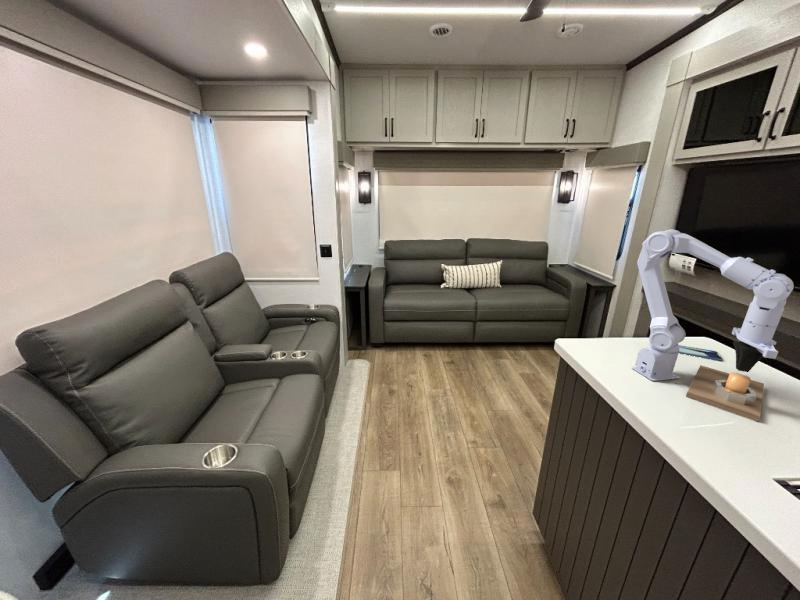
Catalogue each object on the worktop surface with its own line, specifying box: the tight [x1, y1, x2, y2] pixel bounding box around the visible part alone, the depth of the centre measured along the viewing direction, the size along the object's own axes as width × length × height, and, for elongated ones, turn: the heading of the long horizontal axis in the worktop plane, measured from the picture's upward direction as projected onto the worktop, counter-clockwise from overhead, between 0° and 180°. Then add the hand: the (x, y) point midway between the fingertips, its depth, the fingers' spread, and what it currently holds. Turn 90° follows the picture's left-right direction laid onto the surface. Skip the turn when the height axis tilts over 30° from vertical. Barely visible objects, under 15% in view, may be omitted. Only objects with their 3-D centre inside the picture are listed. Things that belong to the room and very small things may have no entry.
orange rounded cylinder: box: [725, 372, 752, 394], centre depth 88 cm, size 4×4×6 cm
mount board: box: [685, 364, 765, 423], centre depth 93 cm, size 22×14×2 cm, turn 132°
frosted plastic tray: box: [713, 380, 757, 405], centre depth 89 cm, size 8×8×2 cm
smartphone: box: [678, 344, 724, 362], centre depth 117 cm, size 7×1×15 cm
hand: (742, 370), depth 87 cm, fingers closed
